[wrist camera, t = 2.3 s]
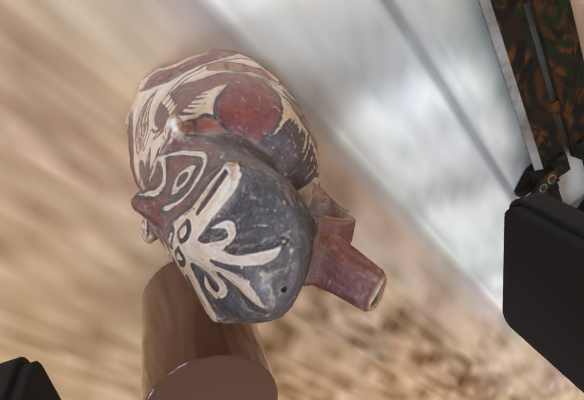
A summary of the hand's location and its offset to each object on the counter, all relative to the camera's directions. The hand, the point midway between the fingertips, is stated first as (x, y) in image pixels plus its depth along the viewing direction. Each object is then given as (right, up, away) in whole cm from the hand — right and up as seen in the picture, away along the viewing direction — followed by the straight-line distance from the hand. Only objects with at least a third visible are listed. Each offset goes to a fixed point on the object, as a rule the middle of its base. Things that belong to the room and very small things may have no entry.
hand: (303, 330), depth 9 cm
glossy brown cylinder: (-5, -2, +14) cm, 15 cm away
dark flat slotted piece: (+13, +7, +16) cm, 22 cm away
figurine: (-4, +5, +11) cm, 13 cm away
